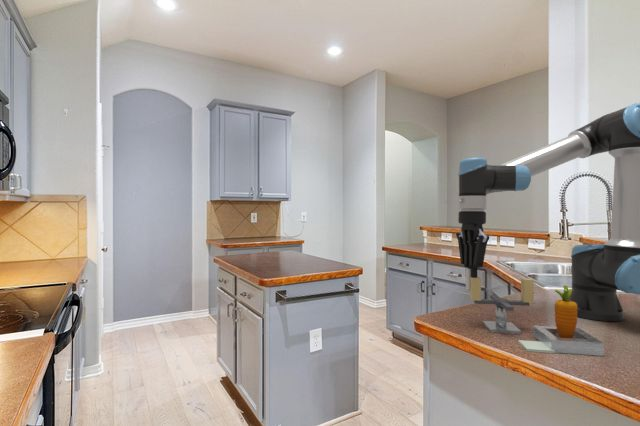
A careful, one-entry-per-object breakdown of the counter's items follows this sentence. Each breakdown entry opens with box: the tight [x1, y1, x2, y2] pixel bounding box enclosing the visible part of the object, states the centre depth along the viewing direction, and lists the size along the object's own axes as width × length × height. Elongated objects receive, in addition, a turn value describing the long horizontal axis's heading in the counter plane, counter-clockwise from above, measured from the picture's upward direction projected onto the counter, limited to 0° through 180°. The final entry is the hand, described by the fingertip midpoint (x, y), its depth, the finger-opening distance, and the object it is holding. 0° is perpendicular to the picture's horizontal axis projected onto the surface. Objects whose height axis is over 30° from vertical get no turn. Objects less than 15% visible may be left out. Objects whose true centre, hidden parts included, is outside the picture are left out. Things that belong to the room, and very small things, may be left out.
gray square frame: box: [532, 325, 605, 357], centre depth 89 cm, size 11×11×3 cm
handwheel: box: [469, 276, 535, 312], centre depth 102 cm, size 16×14×8 cm
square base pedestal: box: [482, 305, 522, 335], centre depth 102 cm, size 8×8×7 cm
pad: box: [517, 339, 556, 354], centre depth 87 cm, size 6×6×1 cm
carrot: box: [554, 284, 578, 338], centre depth 89 cm, size 5×5×15 cm
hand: (471, 289), depth 105 cm, fingers closed
